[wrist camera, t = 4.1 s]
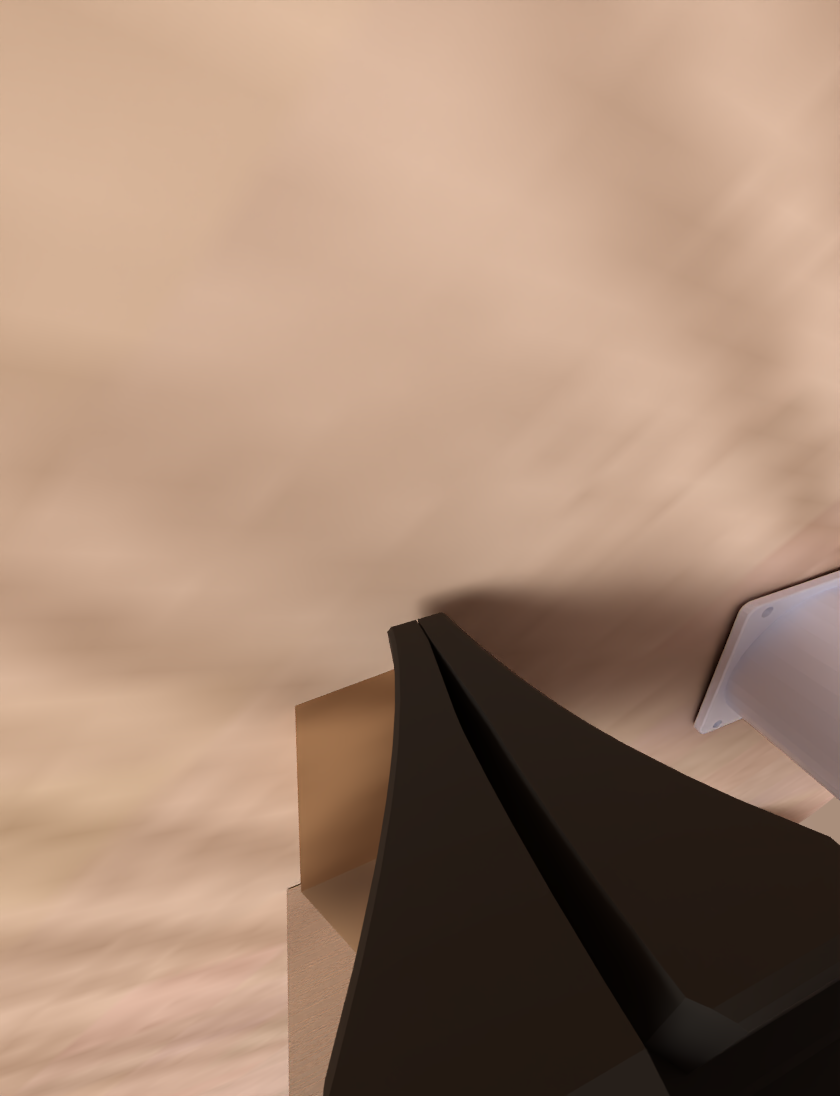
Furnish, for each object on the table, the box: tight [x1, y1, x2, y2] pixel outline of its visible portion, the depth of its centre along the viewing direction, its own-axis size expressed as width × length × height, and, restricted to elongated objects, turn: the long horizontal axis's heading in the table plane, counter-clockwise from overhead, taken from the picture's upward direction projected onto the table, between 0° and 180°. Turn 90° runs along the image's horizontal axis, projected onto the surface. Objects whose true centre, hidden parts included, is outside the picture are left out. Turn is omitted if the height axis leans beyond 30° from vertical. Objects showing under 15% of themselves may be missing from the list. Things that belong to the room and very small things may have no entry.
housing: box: [287, 885, 356, 1096], centre depth 15 cm, size 13×3×7 cm, turn 97°
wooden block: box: [295, 670, 395, 953], centre depth 13 cm, size 4×14×5 cm, turn 11°
